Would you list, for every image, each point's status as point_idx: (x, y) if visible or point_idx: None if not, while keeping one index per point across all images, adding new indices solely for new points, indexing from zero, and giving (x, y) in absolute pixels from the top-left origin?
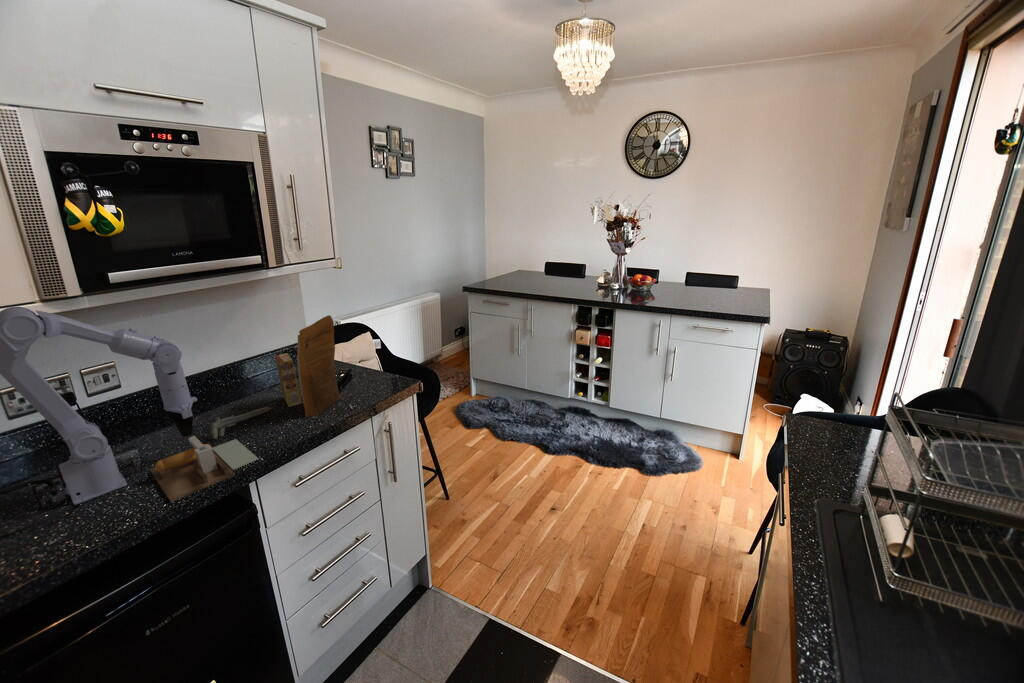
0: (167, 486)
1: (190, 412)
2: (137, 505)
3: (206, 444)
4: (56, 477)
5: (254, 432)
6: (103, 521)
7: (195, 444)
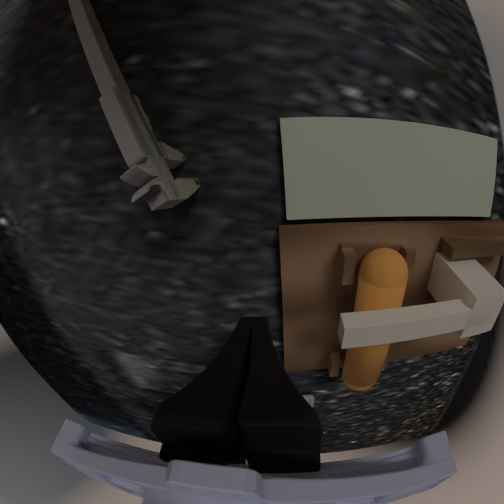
0: (420, 349)
1: (450, 456)
2: (412, 379)
3: (394, 277)
4: None
5: (254, 39)
6: (403, 405)
7: (431, 333)
